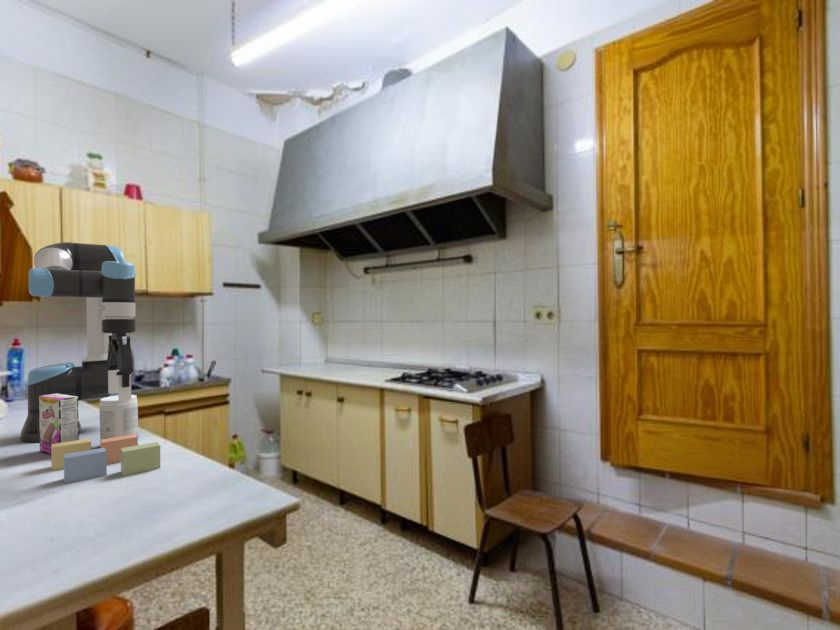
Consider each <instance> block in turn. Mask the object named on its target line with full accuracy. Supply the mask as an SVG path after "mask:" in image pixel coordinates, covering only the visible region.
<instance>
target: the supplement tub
mask: <svg viewBox="0 0 840 630" xmlns="http://www.w3.org/2000/svg"><path fill="white" fill-rule="evenodd" d="M98 404H99V435H100V436H99V438H100V440H101V439H107V438H113V437H120V436H126V435H132V434H135V435H136V436H137V437H138V441H140V440H139V436H140V435H139V403H138V397H137V394H131V399H127V400H118V395H117V396H110V397H105V398H101V399H99V403H98ZM100 440H99V441H100Z"/></svg>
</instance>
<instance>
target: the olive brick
mask: <svg viewBox="0 0 840 630" xmlns="http://www.w3.org/2000/svg"><path fill="white" fill-rule="evenodd" d="M157 468H159V469H161V444H160V443H159V442H157V441H154V442H150V443H149V442H148V443H143V444H138V445H137V446H131V447H125V448H121V462H120V472H122V473H121V474H122V476H123V477H124V475H125V476H129V475H128V474H130V475H133V474H132V473H135V474H139V473H138V472H140V473H143V471H144V472H149V471H153V470H152V469H154V470H158V469H157ZM148 470H149V471H148Z"/></svg>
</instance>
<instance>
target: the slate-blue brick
mask: <svg viewBox="0 0 840 630" xmlns="http://www.w3.org/2000/svg"><path fill="white" fill-rule="evenodd" d="M107 465H108V464H107V460H106V450H105V448H95V449H94V448H93V449H91V450H87V451H82V452H76V453H70V454H64V469H63V480H64V481H63V482H64V484H65V483H66V484H69V482H70V483H74V481H75V482H80V481H85V480H89V478H90V479H94V478H93V477H95V478H98V477H97V476H100V477H103V476H102V475H105V476H107V474H108V473H107ZM84 479H85V480H84ZM79 480H80V481H79Z"/></svg>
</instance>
